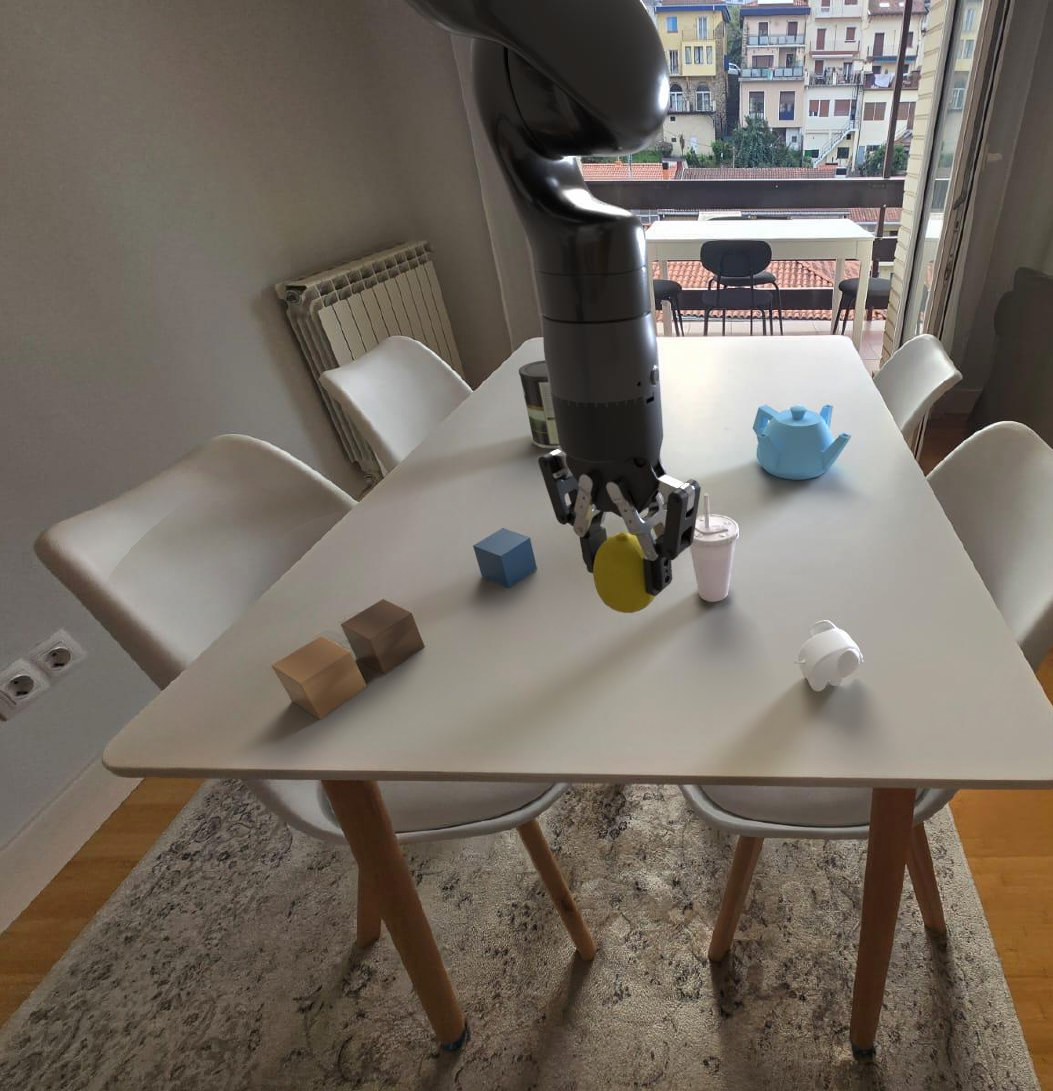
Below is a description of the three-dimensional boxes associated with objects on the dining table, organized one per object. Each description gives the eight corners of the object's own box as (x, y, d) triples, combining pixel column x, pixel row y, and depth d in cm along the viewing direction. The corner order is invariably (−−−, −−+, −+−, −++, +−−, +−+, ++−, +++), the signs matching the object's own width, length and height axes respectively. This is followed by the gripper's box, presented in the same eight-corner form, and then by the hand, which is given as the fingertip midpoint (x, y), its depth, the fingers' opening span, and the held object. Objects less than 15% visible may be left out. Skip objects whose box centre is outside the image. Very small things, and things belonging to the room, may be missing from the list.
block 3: (508, 588, 76) (500, 556, 74) (481, 577, 79) (472, 545, 76) (537, 568, 80) (530, 537, 77) (510, 558, 82) (502, 527, 80)
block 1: (320, 719, 59) (299, 683, 56) (291, 700, 61) (270, 665, 58) (367, 686, 62) (350, 651, 60) (338, 670, 64) (321, 635, 62)
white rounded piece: (876, 690, 61) (884, 647, 58) (806, 712, 59) (810, 668, 56) (843, 648, 67) (848, 606, 63) (778, 666, 64) (780, 624, 61)
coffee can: (524, 448, 114) (509, 375, 106) (543, 428, 122) (530, 359, 115) (576, 450, 113) (565, 376, 105) (592, 429, 121) (582, 360, 114)
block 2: (384, 674, 64) (369, 639, 61) (356, 658, 66) (340, 624, 63) (425, 646, 67) (411, 612, 65) (396, 632, 70) (383, 598, 67)
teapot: (831, 447, 113) (836, 392, 107) (847, 483, 100) (853, 422, 94) (751, 448, 113) (752, 393, 107) (756, 485, 100) (757, 424, 94)
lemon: (659, 632, 50) (652, 552, 45) (593, 632, 50) (580, 551, 45) (666, 592, 54) (660, 516, 50) (605, 592, 54) (595, 516, 50)
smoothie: (693, 575, 78) (688, 480, 71) (741, 579, 78) (742, 483, 70) (683, 606, 73) (677, 506, 65) (735, 610, 72) (735, 510, 65)
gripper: (489, 380, 41) (533, 577, 50) (659, 415, 35) (673, 632, 44) (564, 354, 47) (591, 537, 56) (722, 381, 41) (724, 581, 50)
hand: (627, 578), depth 50 cm, fingers closed on lemon, 5 cm apart
